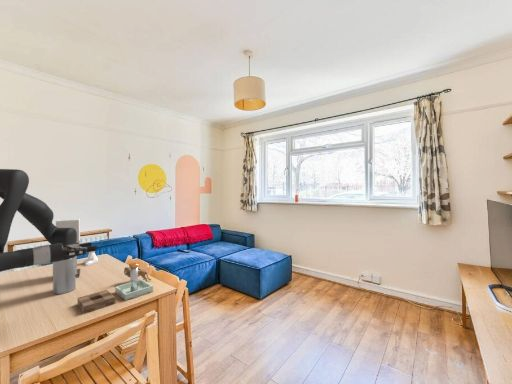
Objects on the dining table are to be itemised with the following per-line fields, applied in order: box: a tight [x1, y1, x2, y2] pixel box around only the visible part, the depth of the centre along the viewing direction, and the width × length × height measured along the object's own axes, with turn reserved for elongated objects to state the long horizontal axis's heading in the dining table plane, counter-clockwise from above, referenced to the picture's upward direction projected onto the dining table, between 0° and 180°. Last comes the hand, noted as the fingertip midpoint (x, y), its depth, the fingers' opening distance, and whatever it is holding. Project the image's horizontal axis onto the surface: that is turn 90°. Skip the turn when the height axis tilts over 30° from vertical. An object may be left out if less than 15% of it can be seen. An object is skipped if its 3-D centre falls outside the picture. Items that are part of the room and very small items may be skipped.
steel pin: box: [128, 262, 140, 292], centre depth 123 cm, size 5×5×14 cm
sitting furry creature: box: [82, 251, 99, 267], centre depth 169 cm, size 10×9×12 cm
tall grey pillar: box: [55, 217, 81, 279], centre depth 144 cm, size 11×11×35 cm
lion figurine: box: [123, 266, 152, 283], centre depth 137 cm, size 15×5×9 cm, turn 102°
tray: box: [114, 278, 154, 301], centre depth 123 cm, size 14×14×3 cm
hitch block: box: [77, 289, 116, 314], centre depth 111 cm, size 12×12×3 cm
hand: (93, 246), depth 110 cm, fingers open, 8 cm apart
